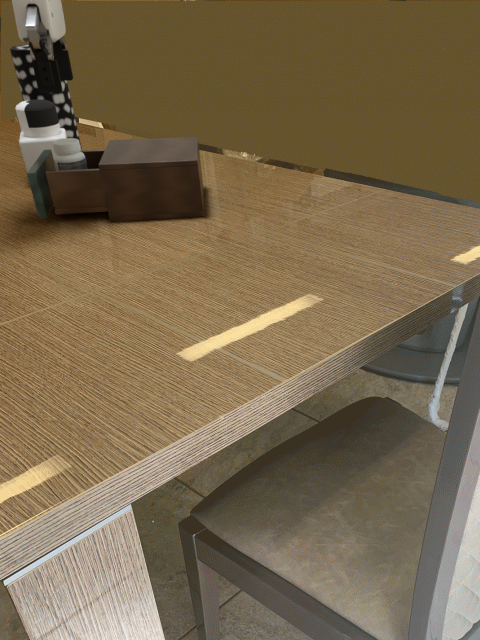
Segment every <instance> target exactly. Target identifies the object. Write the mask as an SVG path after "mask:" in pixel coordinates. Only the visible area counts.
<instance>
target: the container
mask: <svg viewBox="0 0 480 640" xmlns="http://www.w3.org/2000/svg"><path fill="white" fill-rule="evenodd" d="M14 110H15V111H16V112H15V113H16V116H17V120H18V124H19V127H20V133H19V139H18V145H19V148H20V152H21V155H22V159H23V163H24V167H25V170H26V174H27V173H28V171H29V170H30V168H31V167H32V166H33V164H34V163H35V161H36V160H37V159H38V157H39V156H40V155H41V153H42V152H43V150H51V151H52V155H53V159H54V156H55V155H56V153H55V152H54V148H53V144H52V143H53V142H54V141H56V140H59V139H65V138H67V135H66V131H65V129H64V128H60V124H59V119H58V115H57V111H56V106H55V104H54V103H53V102H50V101H48V100H28V101H23V100H22V101H21V102H19V103H18V104H16V106H15V108H14ZM54 163H55V162H54ZM55 167H56V166H55ZM56 171H57V170H56Z"/></svg>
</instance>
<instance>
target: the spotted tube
mask: <svg viewBox="0 0 480 640" xmlns="http://www.w3.org/2000/svg"><path fill="white" fill-rule="evenodd" d="M45 46H46V44H45ZM46 48H47V47H46ZM9 51H10V55H11V59H12V63H13V67H14V71H15V73H16V78H17V82H18V86H19V90H20V93H21V97H22V102H23V101H28V100H48V101H50V102H53V103H54V104H55V106H56V111H57V115H58V119H59V124H60V128H64V129H65V131H66V135H67V138H75V139H78V140H79V142H80V146H81V150H83V148H82V142H81V138H80V134H79V130H78V129H79V128H78V124H77V121H76V116H75V112H74V108H73V103H72V102H73V101H72V97H71V93H70V89H69V85H68V81H61V84H62V92H60V93H41V92H39V91H38V87H37V82H36V78H35V73H34V69H33V65H32V59H31V55H30V47H29V43H28V44H18V45H14V46H11V47H9ZM81 150H80V151H81Z"/></svg>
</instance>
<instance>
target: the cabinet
mask: <svg viewBox="0 0 480 640" xmlns="http://www.w3.org/2000/svg"><path fill="white" fill-rule="evenodd" d="M199 145H200V144H199V137H198V136H179V137H155V138H154V137H153V138H132V139H131V138H130V139H109V140H108V142H107V144H106V146H105V151H104V153H103V156H102V158H101V160H100V163H99V165H98V166H99V170H100V175H101V180H102V185H103V190H104V195H105V199H106V204H107V209H108V211H107V213H108V219H109V222H112V223H115V222H131V221H148V220H150V221H151V220H167V219H183V218H186V219H187V218H200V217H201V218H203V217H205V204H204V203H205V197H204V196H205V195H204V192H205V191H204V181H203V170H202V162H201V161H202V160H201V154H200V146H199Z"/></svg>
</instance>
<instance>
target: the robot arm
mask: <svg viewBox="0 0 480 640" xmlns="http://www.w3.org/2000/svg"><path fill="white" fill-rule="evenodd" d="M11 3H12V10H13V14H14V19H15V25H16V30H17V34H18V38H19V40H21V42H23V43H28V44H29V47H30V55H31V59H32V65H33V69H34V73H35V78H36V82H37V87H38V91H39V92H41V93H60V92H62V84H61V81H67V82H68V81H72V80H73V79H74V73H73V69H72V64H71V59H70V54H69V49H68V47H67V42H66V38H65V35H66V33H67V31H66V29H67V27H66V21H65V20H66V19H65V16H64V9H63V4H62V0H11ZM45 44H46V46H45ZM46 47H47V48H46Z"/></svg>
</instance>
